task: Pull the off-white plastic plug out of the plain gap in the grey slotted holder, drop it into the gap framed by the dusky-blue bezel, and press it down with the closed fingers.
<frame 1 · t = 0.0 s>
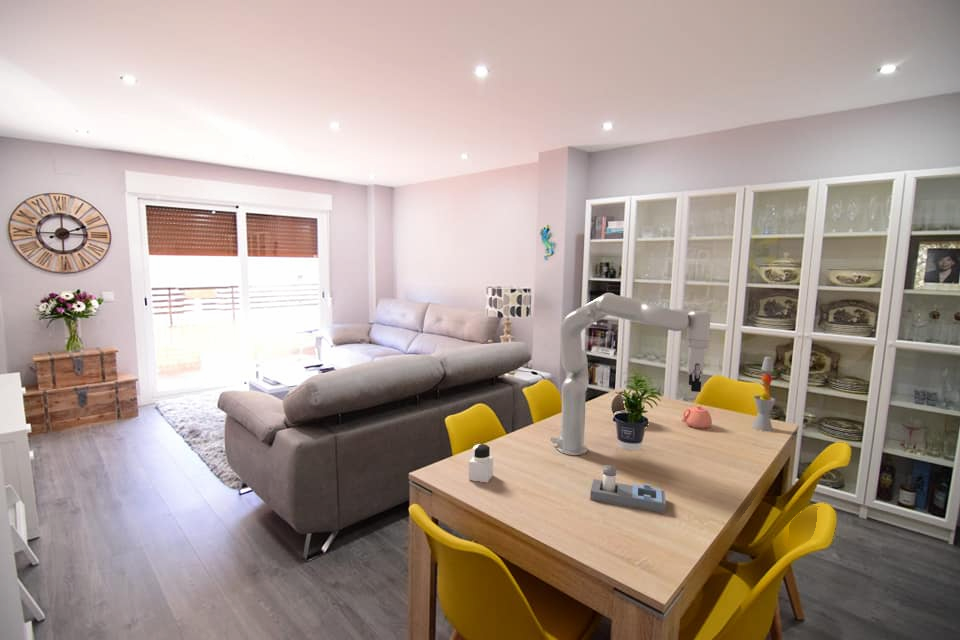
hand: (694, 388, 172), 31 cm above the table, tool pointing down, fingers open, 9 cm apart
grey slotted holder: (627, 499, 150), on the table
plug: (608, 496, 152), resting in grey slotted holder
wooden sphere: (626, 422, 226), on the table
pink rounded piece: (695, 426, 222), on the table
medicine bottle: (480, 478, 165), on the table
lava lamp: (762, 428, 219), on the table
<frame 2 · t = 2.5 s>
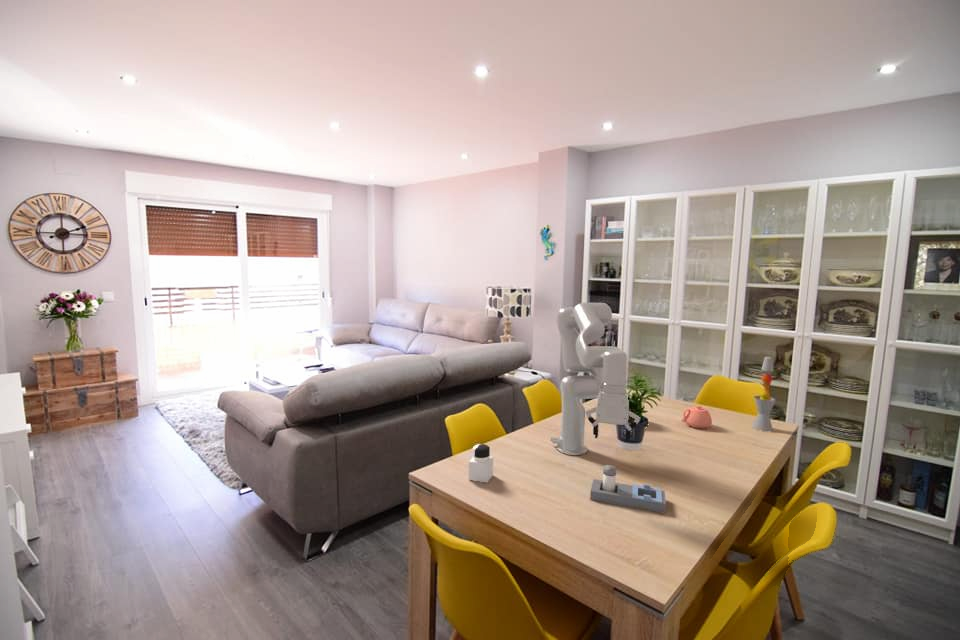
hand: (611, 438, 150), 20 cm above the table, tool pointing down, fingers open, 9 cm apart
nothing on the table moved.
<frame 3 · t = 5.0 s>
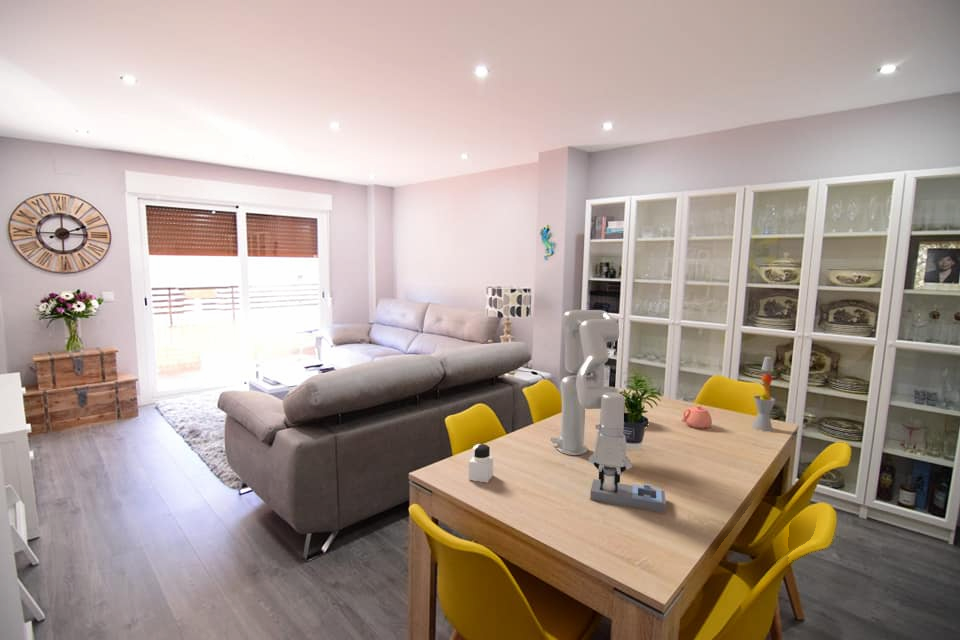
hand: (609, 482, 152), 5 cm above the table, tool pointing down, fingers closed on plug, 4 cm apart
plug: (608, 496, 152), resting in grey slotted holder, touching gripper
everything else where it was.
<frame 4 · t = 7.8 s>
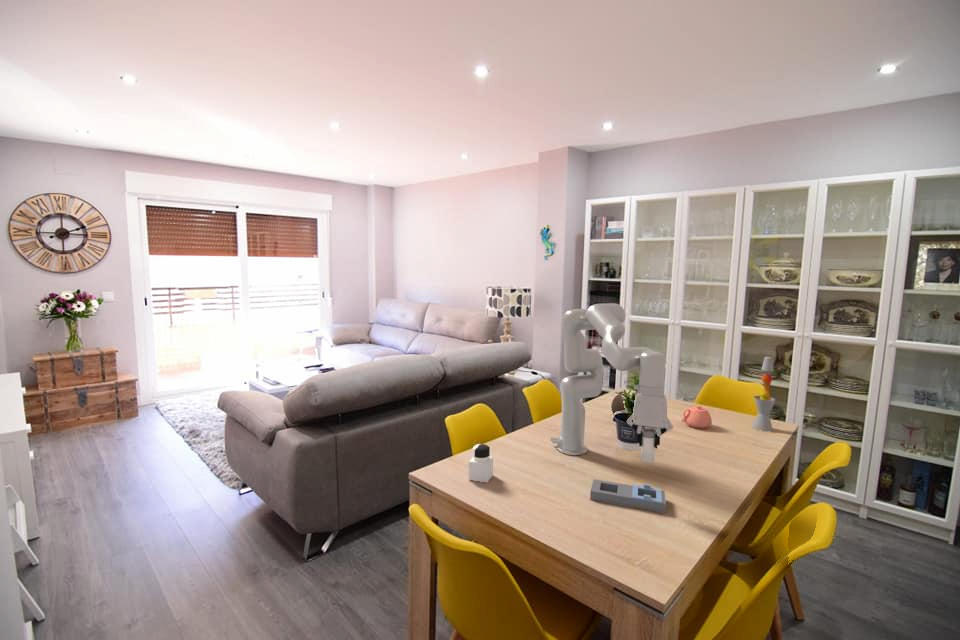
hand: (648, 445, 146), 20 cm above the table, tool pointing down, fingers closed on plug, 4 cm apart
plug: (647, 459, 147), point 15 cm above the table, touching gripper
everything else where it was.
when the fingers open (6 cm above the table, at t = 11.0 s): plug drops 1 cm, resting in grey slotted holder.
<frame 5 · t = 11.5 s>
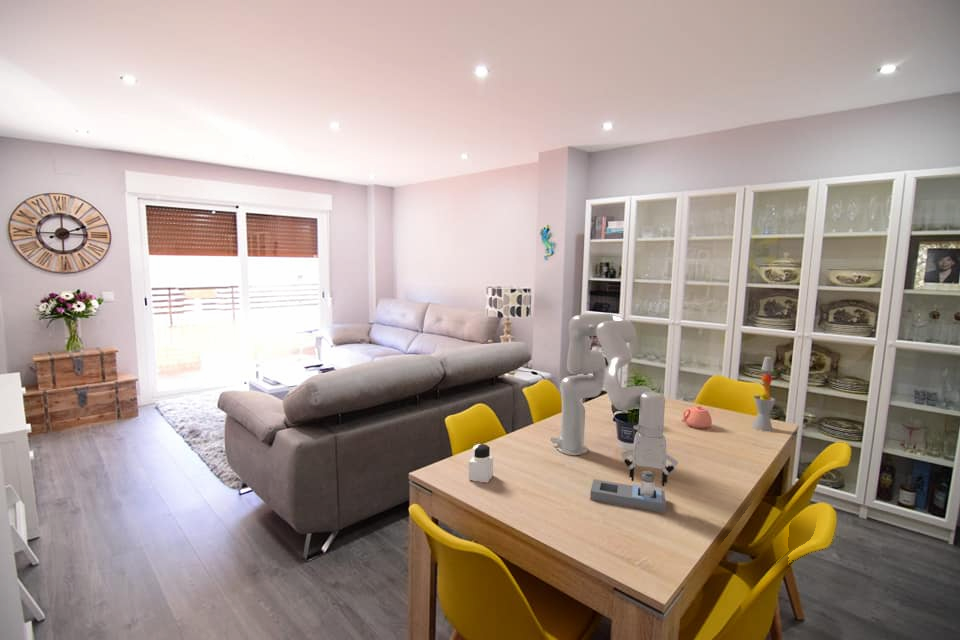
hand: (647, 481, 147), 7 cm above the table, tool pointing down, fingers open, 9 cm apart
plug: (646, 502, 148), resting in grey slotted holder
everything else where it was.
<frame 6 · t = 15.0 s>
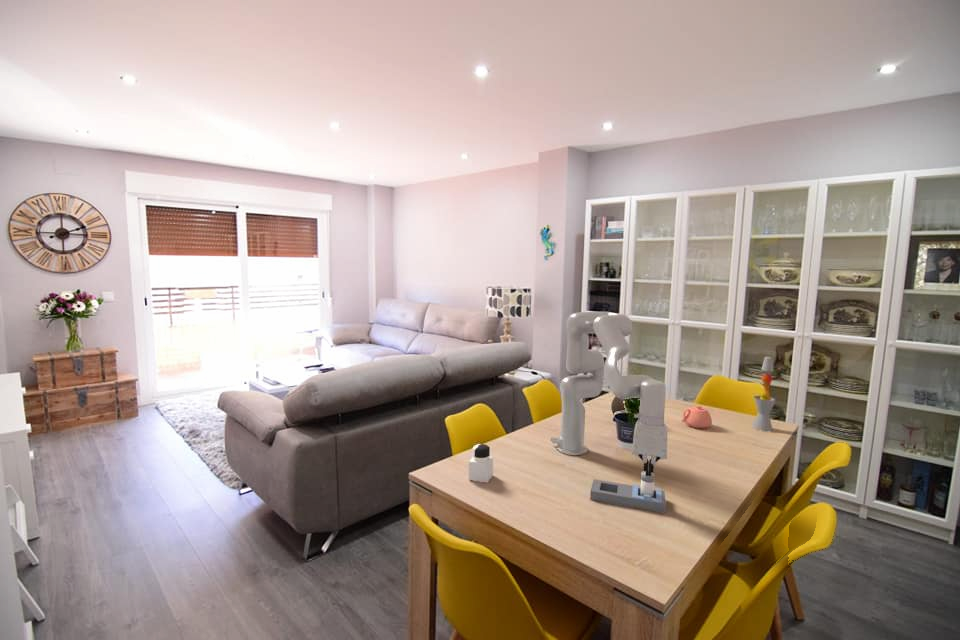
hand: (648, 473, 147), 10 cm above the table, tool pointing down, fingers closed
plug: (646, 502, 148), resting in grey slotted holder, touching gripper
everything else where it was.
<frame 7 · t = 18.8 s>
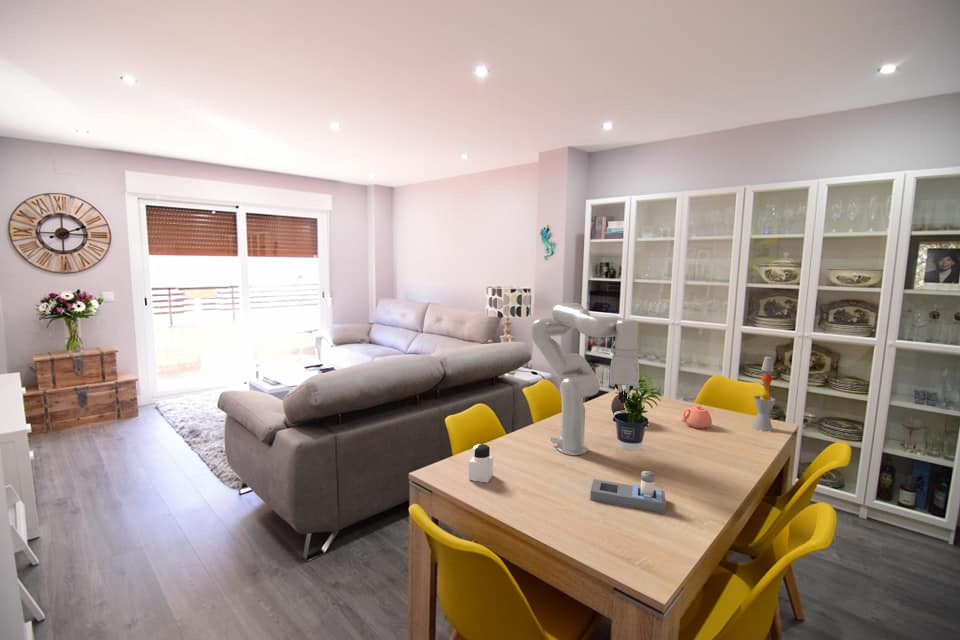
hand: (623, 402, 167), 27 cm above the table, tool pointing down, fingers closed
plug: (646, 502, 148), resting in grey slotted holder
everything else where it was.
at the end: plug 0.0 cm from the target spot on the grey slotted holder, point 0.0 cm above the grey slotted holder's base; plug tilted 0°; the gripper is holding nothing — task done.
